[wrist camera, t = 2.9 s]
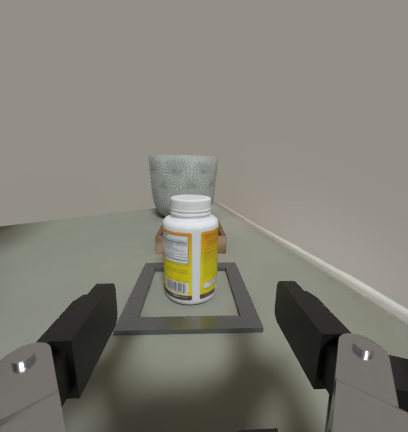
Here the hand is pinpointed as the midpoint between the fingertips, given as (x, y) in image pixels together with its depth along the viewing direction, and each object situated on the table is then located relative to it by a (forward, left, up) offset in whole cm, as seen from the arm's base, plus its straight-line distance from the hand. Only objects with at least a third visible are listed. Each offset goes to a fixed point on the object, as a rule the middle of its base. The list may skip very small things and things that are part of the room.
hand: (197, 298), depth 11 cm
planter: (-34, +31, -7) cm, 47 cm away
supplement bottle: (-8, +8, -7) cm, 13 cm away
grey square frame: (-8, +8, -7) cm, 13 cm away
